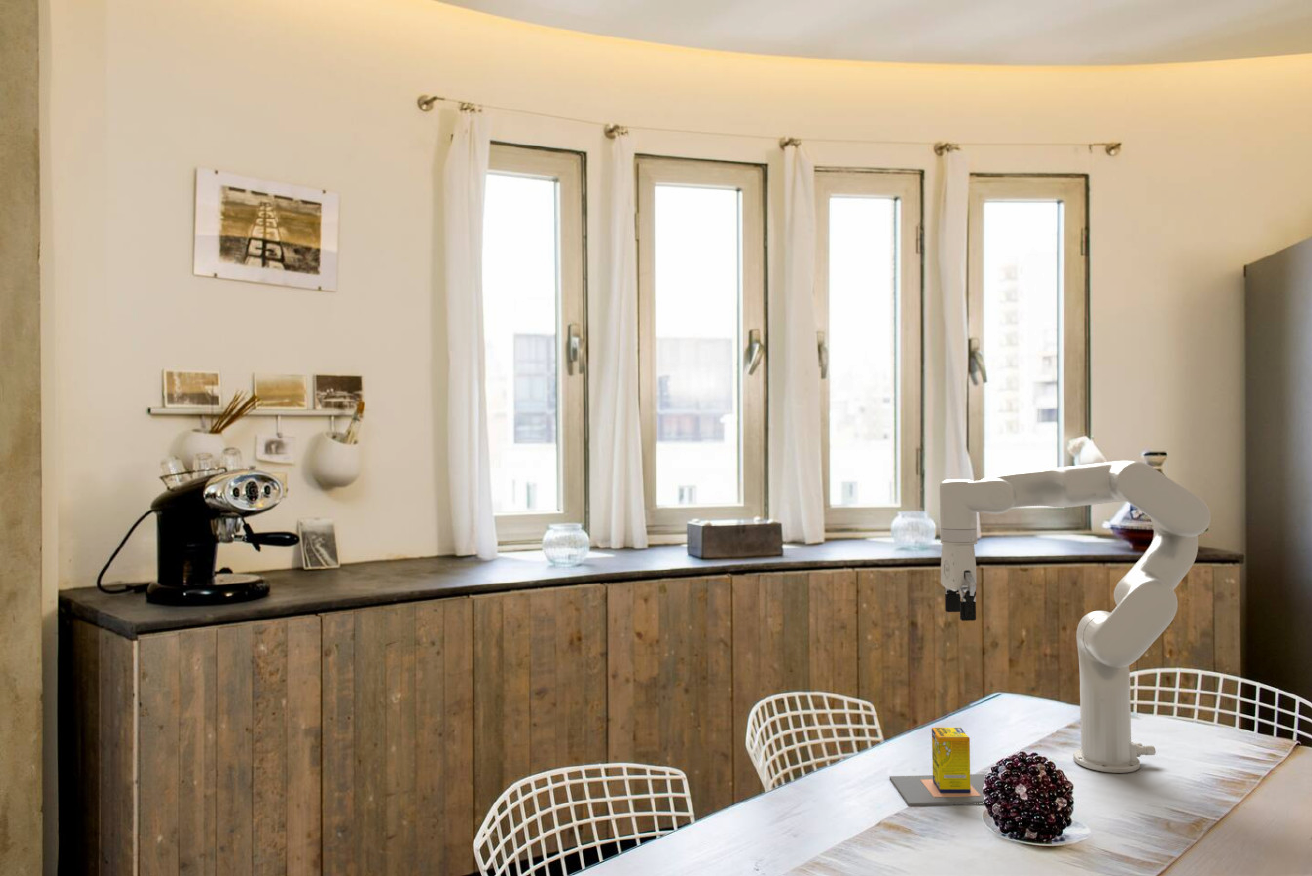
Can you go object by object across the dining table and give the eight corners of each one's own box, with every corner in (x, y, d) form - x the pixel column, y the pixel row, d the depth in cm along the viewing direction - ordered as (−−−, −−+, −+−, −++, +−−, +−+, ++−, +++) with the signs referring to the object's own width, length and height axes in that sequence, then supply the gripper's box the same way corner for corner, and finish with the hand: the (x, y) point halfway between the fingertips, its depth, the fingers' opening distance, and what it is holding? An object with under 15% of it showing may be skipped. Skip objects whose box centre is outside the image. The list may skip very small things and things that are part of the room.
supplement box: (932, 782, 186) (930, 727, 186) (962, 782, 185) (961, 727, 185) (939, 793, 180) (938, 736, 180) (971, 793, 179) (970, 736, 179)
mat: (988, 776, 190) (987, 773, 190) (1015, 803, 176) (1014, 800, 176) (889, 778, 190) (889, 775, 190) (908, 805, 176) (908, 802, 176)
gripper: (929, 532, 211) (930, 609, 211) (954, 541, 193) (956, 624, 193) (962, 532, 211) (964, 608, 211) (990, 540, 193) (992, 623, 193)
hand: (960, 615), depth 202 cm, fingers open, 9 cm apart
